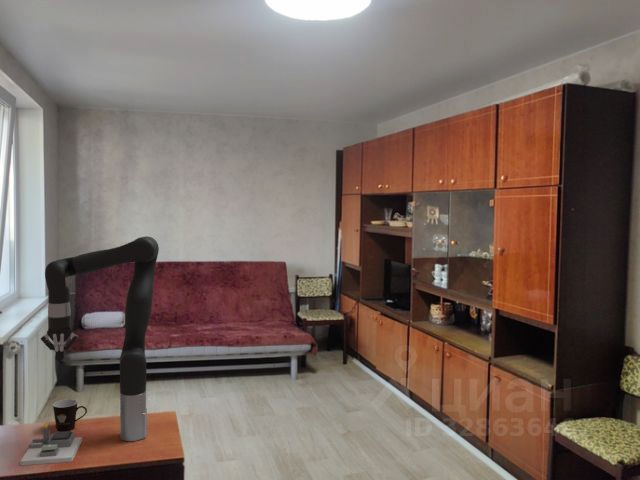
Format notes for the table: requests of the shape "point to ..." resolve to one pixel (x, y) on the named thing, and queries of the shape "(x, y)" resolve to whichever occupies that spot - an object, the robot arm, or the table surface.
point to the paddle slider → (45, 432)
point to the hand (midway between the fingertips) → (60, 360)
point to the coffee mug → (66, 414)
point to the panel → (51, 451)
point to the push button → (61, 435)
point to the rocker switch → (49, 447)
